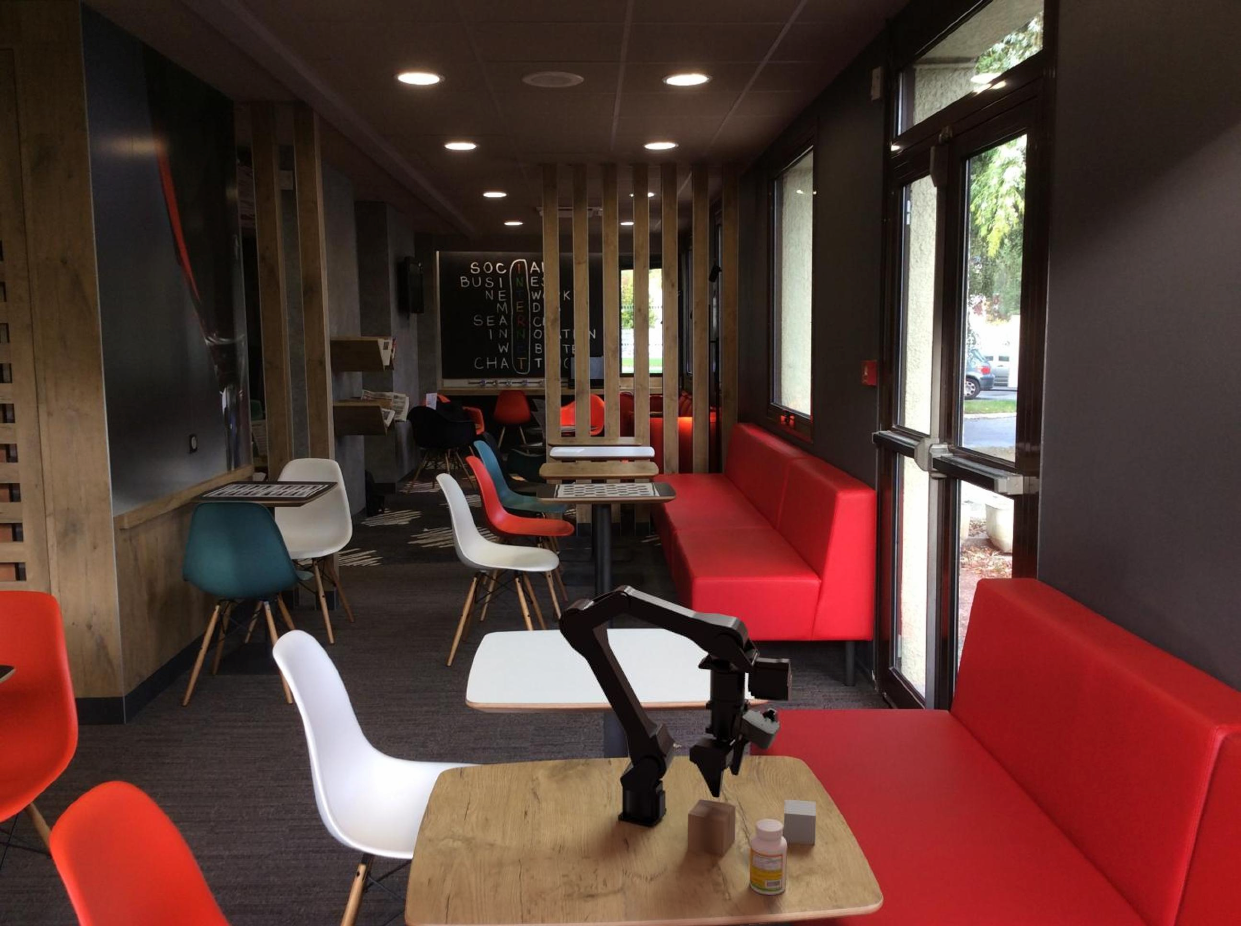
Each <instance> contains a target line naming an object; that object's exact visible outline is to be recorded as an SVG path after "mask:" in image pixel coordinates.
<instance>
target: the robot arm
mask: <svg viewBox="0 0 1241 926" xmlns="http://www.w3.org/2000/svg"><path fill="white" fill-rule="evenodd" d="M620 615H624V616H625V615H626V616H628V617H630V618H633V619H636V620H639V621H640V622H642V623H643V622H644V623H647V624H649V625H652V626H655V627H658V628H659V629H663V630H665V631H668V632H671V633H673V634H676V635H679V636H681V637H684V638H686V639H688V640H689V641H691V642H693V643H694V644H695V645H696V646H697V647H699V648H700V649H701V650H702V651H704V652H706V653H707V654H706V656H704V657H702V659H701V660H700V662H699V663H698V665H697V667H698V669H699V670H707V671H709V673H710V675H709V699H708V701H707V702H705V710H707V711H709V723H708V724H707V725H706V726H705V727H704V729H705V731H704V732H705V734H708V735H712V737H713V738H709V737H703V736H702V737H701V738H699V739H698V740H697V741H696V742H695V743H694V744H693V745H692V746H691V747H690V748H689V749H688V754H689V755H688V756H689V762H691V763H692V764H693V765H696V767H697V769H698V770H699V772H700V774H701V776H702V777H703V779H704V782H705V784H706V786H707V788H708V790H709V792H710V794H711V796H712V797H713V798H715V799H716V798H717V799H719V798H720V796H721V791H722V787H723V786H722V785H723V781H724V775H725V770H727V769H728V768H729V770H730V774H731V775H732V776H736V777H737V776H738V775H739V773H740V770H741V766H742V764H743V760H744V756H745V752H746V750H747V746H748V745H749V743H752V744H754V745H755V746H757V748H759V749H760V750H764V751H767V750H769V748H770V747H771V745H773V744H774V742H775V739H776V736H777V734H778V732H779V731H780V730H781V726H780V724H781V722H780V721H779V717H778V714H779V713H778V710H776V709H774V708H772V707H768V708H766V709H765V710H764V711H763V712H761V711H760V710H758V711H755V710H752V709H751V702H750V700H749V699H748V698H746V674H747V692H748V693H750V697H753V698H754V700H761V701H768V702H769V701H770V702H771V701H772V702H782V703H791V697H792V691H793V690H792V689H793V675H792V668H791V659H790V658H768V657H767V658H766V657H760V654H761V653H760V651H759V650H758V648H757V647H756V645H755V644H754V643H753V641H752V640H751V638H749V631H748V628H747V626H746V624H745V622H744V621H743V620H742V619H740V618H738V617H736V616H733V615H732V616H731V615H727V614H721V613H706V612H705V613H704V612H700V611H699V612H698V611H695V610H692V609H689V608H686V607H683V606H681V605H678V604H676V603H672V602H670V601H668V600H665V599H661V598H659V597H657V596H654V595H651V594H648V593H646V592H643V591H639V590H638V589H635V588H634V587H632V586H630V585H627V584H626V585H625V584H624V585H620V586H619V587H617V588H616V589H614V590H611V591H609V592H607V593H604V594H601V595H599V596H597V597H595V598H593V599H589V598H587V599H586V598H581V599H578V600H576V601H575V602H574V603H572V604H571V605H570V606H569V607H568V608H566V609H565V610H564V611H563V612H562V613H561V615H560V617H559V620H558V629H559V632H560V634H561V635H562V637H563V638H564V639H565V640H566V641H567V643H568V645H569V646H570V647H571V649H573V650H574V651H575V652H576V653H578V654H579V655H580V656H582V657H583V658H584V659H585V661H586V662H587V664H588V666H589V668H590V669H591V672H592V674H593V675H594V677H595V679H596V681H597V683H598V685H599V686H600V689H601V690H602V692H603V694H604V696H605V698H606V700H607V702H608V703H609V706H610V707H611V709H612V711H613V712H614V715H615V717H616V718H617V720H618V722H619V724H620V726H621V727H622V730H623V732H624V734H625V738H626V745H627V751H628V755H629V758H630V762H628V764H627V766H626V767H625V769H624V771H623V773H622V774H621V776H620V777H619V782H620V784H621V787H622V788H621V789H622V790H621V793H622V795H621V796H622V798H621V801H622V802H621V806H622V807H621V812H620V813H619V814H618V815H617V819H618V820H621V821H624V822H629V823H634V824H638V825H642V826H646V827H654V826H655V825H656V823H658V821H660V820H661V818H662V817H663V816H664V815H665V814H666V813H667V808H666V790H665V789H664V781H663V780H662V779H663V777H665V775H666V773H667V772H668V770H669V768H670V766H671V765H672V762H673V760H674V757H675V755H676V751H675V750H676V748H675V746H674V745H675V743H676V740H675V739H674V738H673V737H672V736H671V735H670V733H669V730H668V727H667V725H666V723H665V721H662V722H661V723H659V724H656V723H655V722H654V721H652V720H651V719H650V718H649V716H648V715H647V713H646V711H645V709H644V708H643V705H642V704H641V701H640V700H639V697H638V696H637V694H636V692H635V691H634V689H633V687H632V685H631V683H630V681H629V679H628V677H627V676H626V674H625V672H624V670H623V668H622V666H621V665H620V663H619V661H618V659H617V657H616V655H615V653H614V651H613V648H612V647H611V645H610V641H609V640H610V639H609V634H608V628H607V627H608V626H607V622H609V621H610V620H612V619H613V618H616V617H618V616H620Z"/></svg>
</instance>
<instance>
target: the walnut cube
mask: <svg viewBox="0 0 1241 926" xmlns="http://www.w3.org/2000/svg"><path fill="white" fill-rule="evenodd" d="M736 814H737V805H735V804H732V803H727V802H722V801H716V800H712V799H706V798H702V797H701V798H700V799H699V800H698V801H697V802H696V803H695V804H694V806H693V807H692V808H691V810H689V812H688V813H687V850H691V851H695V852H699V853H702V854H707V855H713V856H716V857H721V858H724V857H725V856H726V854H727V852H728V851H729V849H730V848H731V847H732V845H733V844H734V843H735V841H736V818H737V817H736V816H737V815H736Z"/></svg>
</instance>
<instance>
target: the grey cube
mask: <svg viewBox="0 0 1241 926" xmlns="http://www.w3.org/2000/svg"><path fill="white" fill-rule="evenodd" d="M783 811H784V812H783V814H784V815H783V817H784V818H783V819H784V820H783V837H784V838H785V840H786V842H787V843H793V844H802V845H814V846H815V845H816V825H817V821H816V820H817V813H816V812H817V801H809V800H799V799H785V800H784V810H783Z"/></svg>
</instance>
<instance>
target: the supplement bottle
mask: <svg viewBox="0 0 1241 926" xmlns="http://www.w3.org/2000/svg"><path fill="white" fill-rule="evenodd" d="M749 855H750V856H749V857H750V858H749V885H750V887H751V889H753V890H754V891H755V892H757V893H759V894H761V895H769V896H770V895H771V896H774V895H779V894H781V893H783V892H784V891H785V890H786V887H787V867H788V866H787V865H788V864H787V862H788V842H786V840H785V838H784V824H783V823H782V822H781V821H779V820H776V819H773V818H763V819H760V820H758V821H756V823H755V834H754V835H753V836H752V838H751V839H750V854H749Z"/></svg>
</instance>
